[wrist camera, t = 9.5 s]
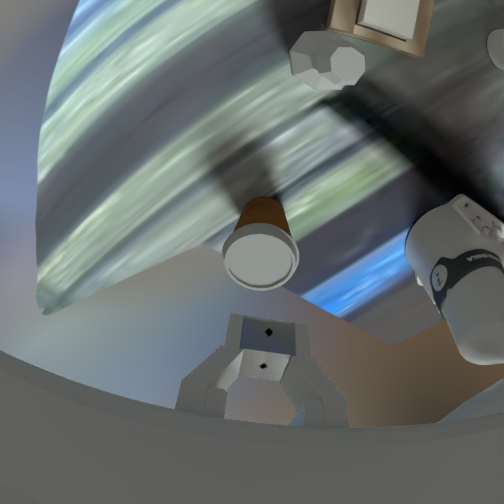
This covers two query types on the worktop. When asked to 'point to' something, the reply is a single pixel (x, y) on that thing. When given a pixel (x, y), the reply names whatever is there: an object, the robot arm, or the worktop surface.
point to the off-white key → (389, 16)
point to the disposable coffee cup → (261, 247)
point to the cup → (496, 47)
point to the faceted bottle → (326, 60)
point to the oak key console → (344, 23)
